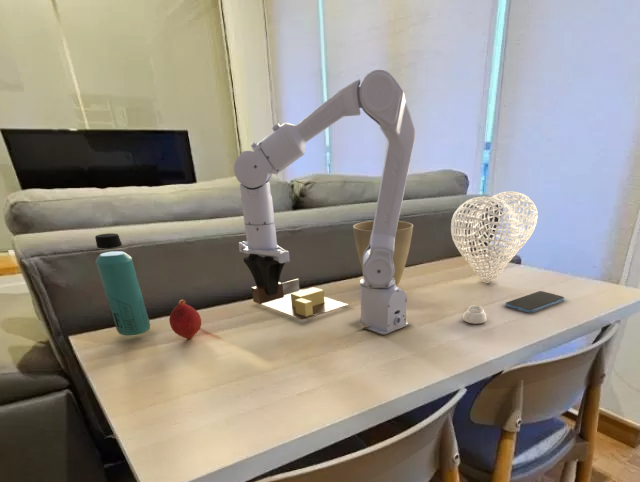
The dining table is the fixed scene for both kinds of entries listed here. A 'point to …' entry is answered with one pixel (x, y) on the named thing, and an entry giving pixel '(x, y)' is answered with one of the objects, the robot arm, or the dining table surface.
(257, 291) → the knife
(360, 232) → the plant pot
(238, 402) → the dining table surface
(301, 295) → the butter block
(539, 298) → the smartphone
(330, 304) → the board
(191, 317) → the onion
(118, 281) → the beverage bottle
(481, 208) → the heart
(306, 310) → the butter slice
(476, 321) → the white jar
